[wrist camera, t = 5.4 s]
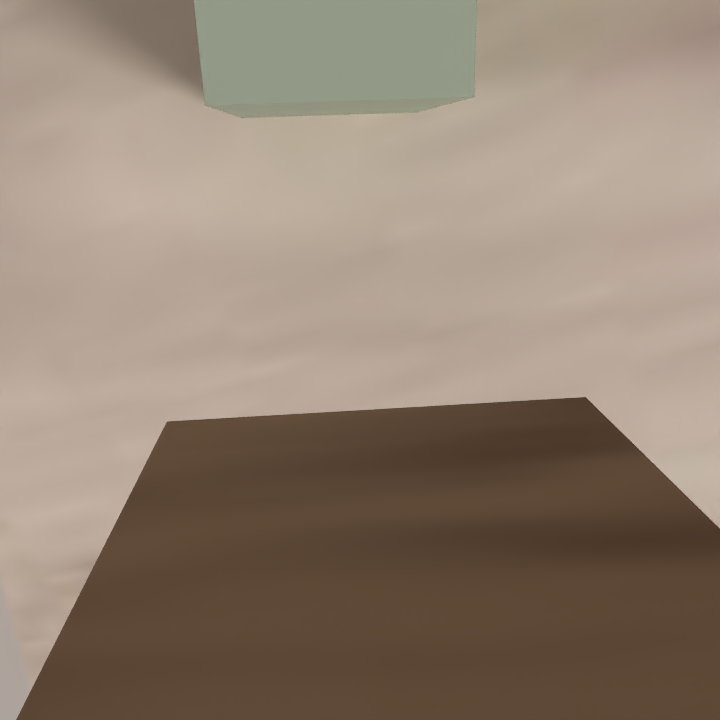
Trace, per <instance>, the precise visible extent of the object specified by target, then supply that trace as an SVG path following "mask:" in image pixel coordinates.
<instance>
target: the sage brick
mask: <svg viewBox="0 0 720 720" xmlns="http://www.w3.org/2000/svg"><path fill="white" fill-rule="evenodd" d="M194 9H195V18H196V28H197V37H198V46H199V55H200V64H201V74H202V83H203V92H204V101H205V105H206V106H209V107H211V108H214V109H217V110H220V111H223V112H226V113H229V114H232V115H235V116H238V117H241V118H255V117H286V116H317V115H348V114H380V113H411V112H419V111H423V110H427V109H431V108H435V107H438V106H442V105H446V104H450V103H453V102H457V101H461V100H465V99H468V98H472V97H474V92H475V56H476V19H477V0H194Z"/></svg>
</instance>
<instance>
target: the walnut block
mask: <svg viewBox="0 0 720 720" xmlns="http://www.w3.org/2000/svg"><path fill="white" fill-rule="evenodd" d="M16 720H720V529H719V528H718V527H717V526H716V525H715V524H714V523H713V522H712V521H711V520H710V519H709V518H708V517H707V516H706V515H705V514H704V513H703V512H702V511H701V510H700V509H699V508H698V507H697V506H696V505H695V504H694V503H693V502H692V501H691V500H690V499H689V498H688V497H687V496H686V495H685V494H684V493H683V492H682V491H681V490H680V489H679V488H678V487H677V486H676V485H675V484H674V483H673V482H672V481H671V480H669V479H668V478H667V477H666V476H665V475H664V474H663V473H662V472H661V471H660V470H659V469H658V468H657V467H656V466H655V465H654V464H653V463H652V462H651V461H650V460H649V459H648V458H647V457H646V456H645V455H644V454H643V453H642V452H641V451H640V450H639V449H638V448H637V447H636V446H635V445H634V444H633V443H632V442H631V441H630V440H629V439H628V438H627V437H626V436H625V435H624V434H623V433H622V432H621V431H619V430H618V429H617V428H616V427H615V426H614V425H613V424H612V423H611V422H610V421H609V420H608V419H607V418H606V417H605V416H604V415H603V414H602V413H601V412H600V411H599V410H598V409H597V408H596V407H595V406H594V405H593V404H592V403H591V402H590V401H589V400H588V399H587V398H586V397H581V398H564V399H547V400H530V401H512V402H495V403H478V404H461V405H444V406H427V407H409V408H392V409H375V410H358V411H341V412H324V413H307V414H289V415H272V416H255V417H238V418H221V419H204V420H186V421H169V422H167V423H166V425H165V427H164V429H163V431H162V433H161V435H160V437H159V439H158V441H157V443H156V445H155V446H154V448H153V450H152V452H151V454H150V456H149V458H148V460H147V462H146V464H145V466H144V468H143V470H142V472H141V474H140V476H139V478H138V480H137V482H136V484H135V486H134V488H133V490H132V492H131V494H130V496H129V498H128V500H127V502H126V504H125V506H124V508H123V510H122V512H121V514H120V516H119V518H118V520H117V522H116V524H115V526H114V528H113V530H112V532H111V533H110V535H109V537H108V539H107V541H106V543H105V545H104V547H103V549H102V551H101V553H100V555H99V557H98V559H97V561H96V563H95V565H94V567H93V569H92V571H91V573H90V575H89V577H88V579H87V581H86V583H85V585H84V587H83V589H82V591H81V593H80V595H79V597H78V599H77V601H76V603H75V605H74V607H73V609H72V611H71V613H70V615H69V617H68V619H67V620H66V622H65V624H64V626H63V628H62V630H61V632H60V634H59V636H58V638H57V640H56V642H55V644H54V646H53V648H52V650H51V652H50V654H49V656H48V658H47V660H46V662H45V664H44V666H43V668H42V670H41V672H40V674H39V676H38V678H37V680H36V682H35V684H34V686H33V688H32V690H31V692H30V694H29V696H28V698H27V700H26V702H25V704H24V706H23V707H22V709H21V711H20V714H19V715H18V718H17V719H16Z"/></svg>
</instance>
